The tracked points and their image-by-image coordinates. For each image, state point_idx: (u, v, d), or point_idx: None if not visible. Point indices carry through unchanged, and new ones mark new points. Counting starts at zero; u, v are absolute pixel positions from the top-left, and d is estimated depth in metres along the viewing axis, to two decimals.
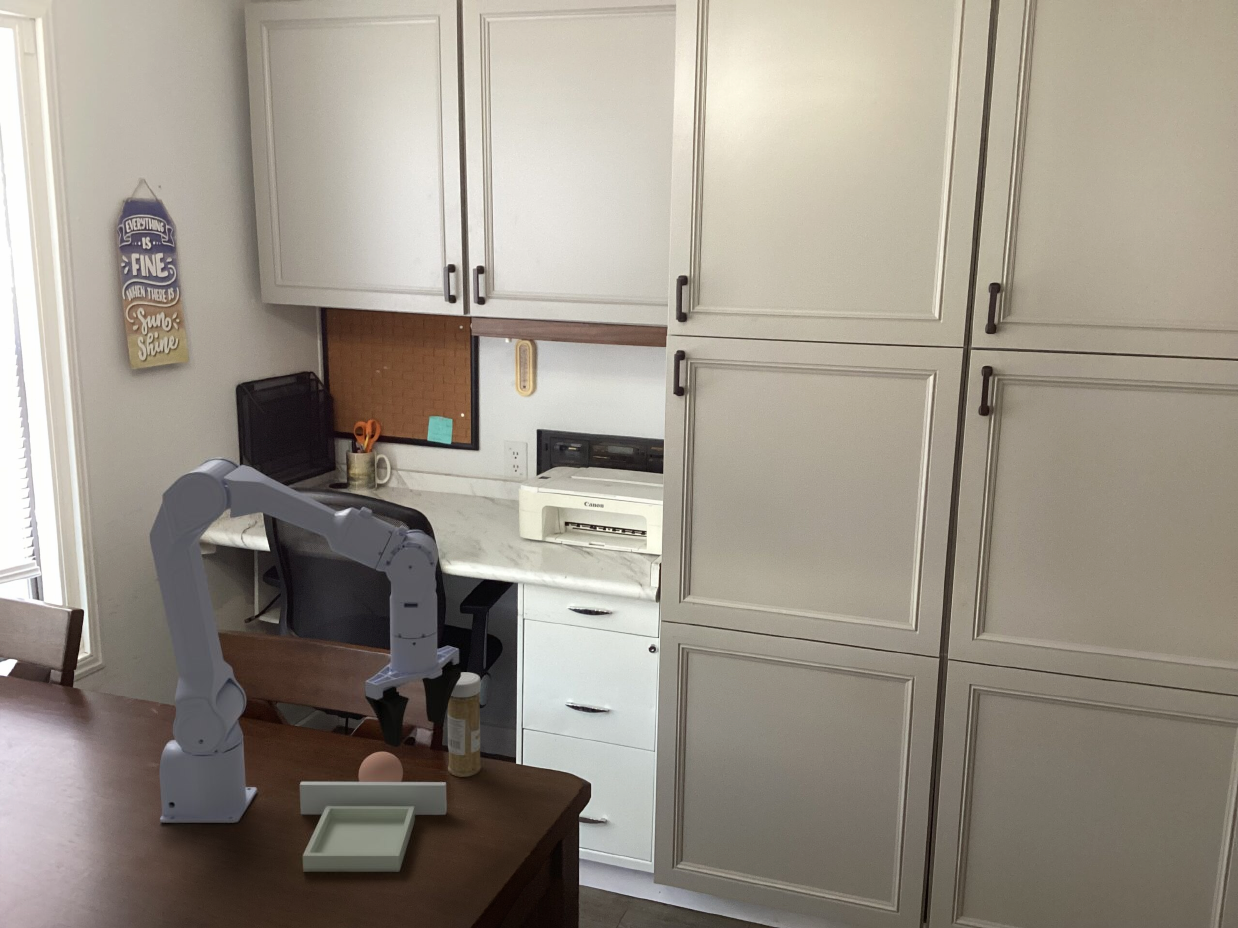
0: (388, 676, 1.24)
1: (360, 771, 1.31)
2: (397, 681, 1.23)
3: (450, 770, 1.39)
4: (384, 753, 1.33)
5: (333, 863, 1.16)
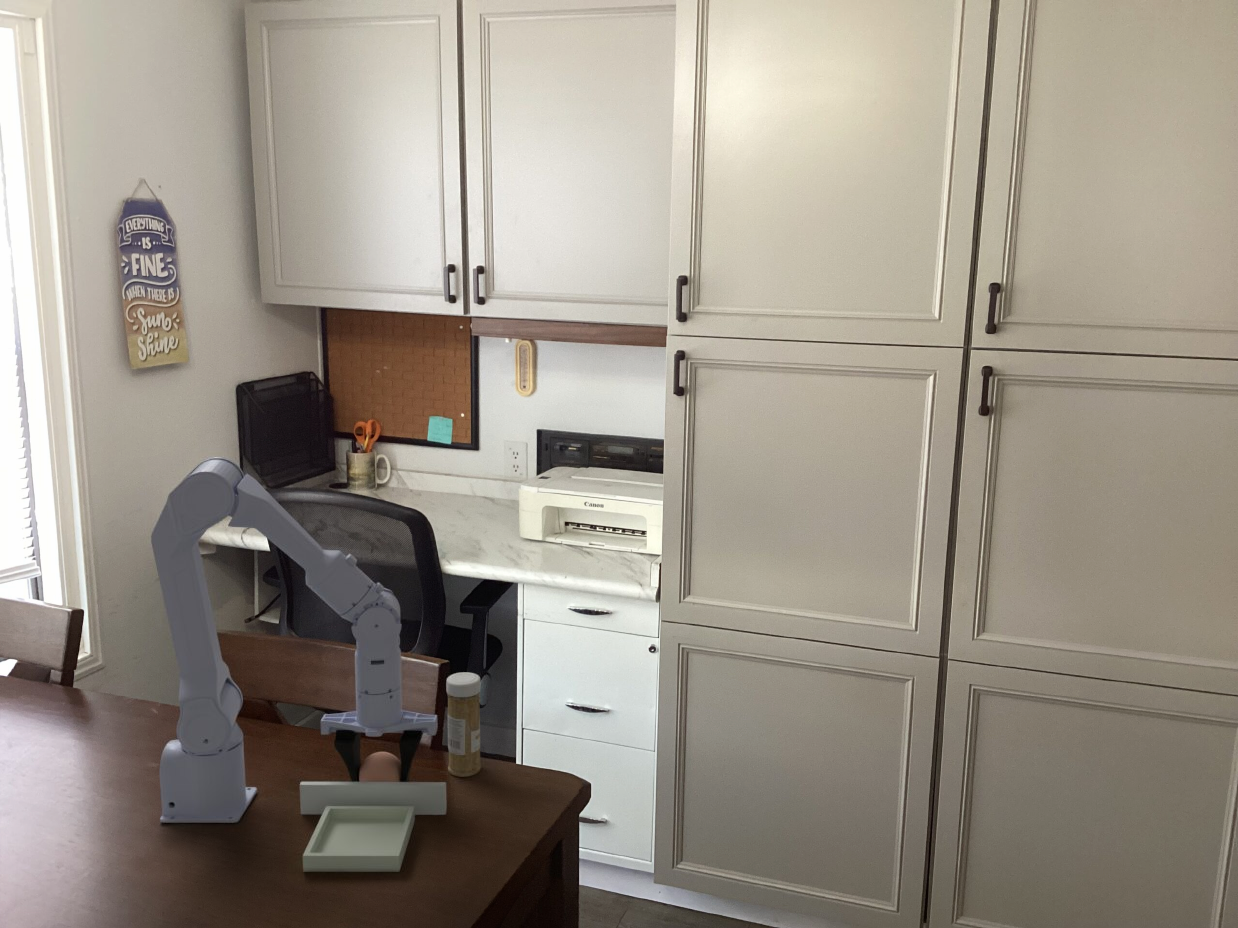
0: (342, 718, 1.31)
1: (360, 771, 1.31)
2: (341, 725, 1.30)
3: (450, 770, 1.39)
4: (384, 753, 1.33)
5: (333, 863, 1.16)
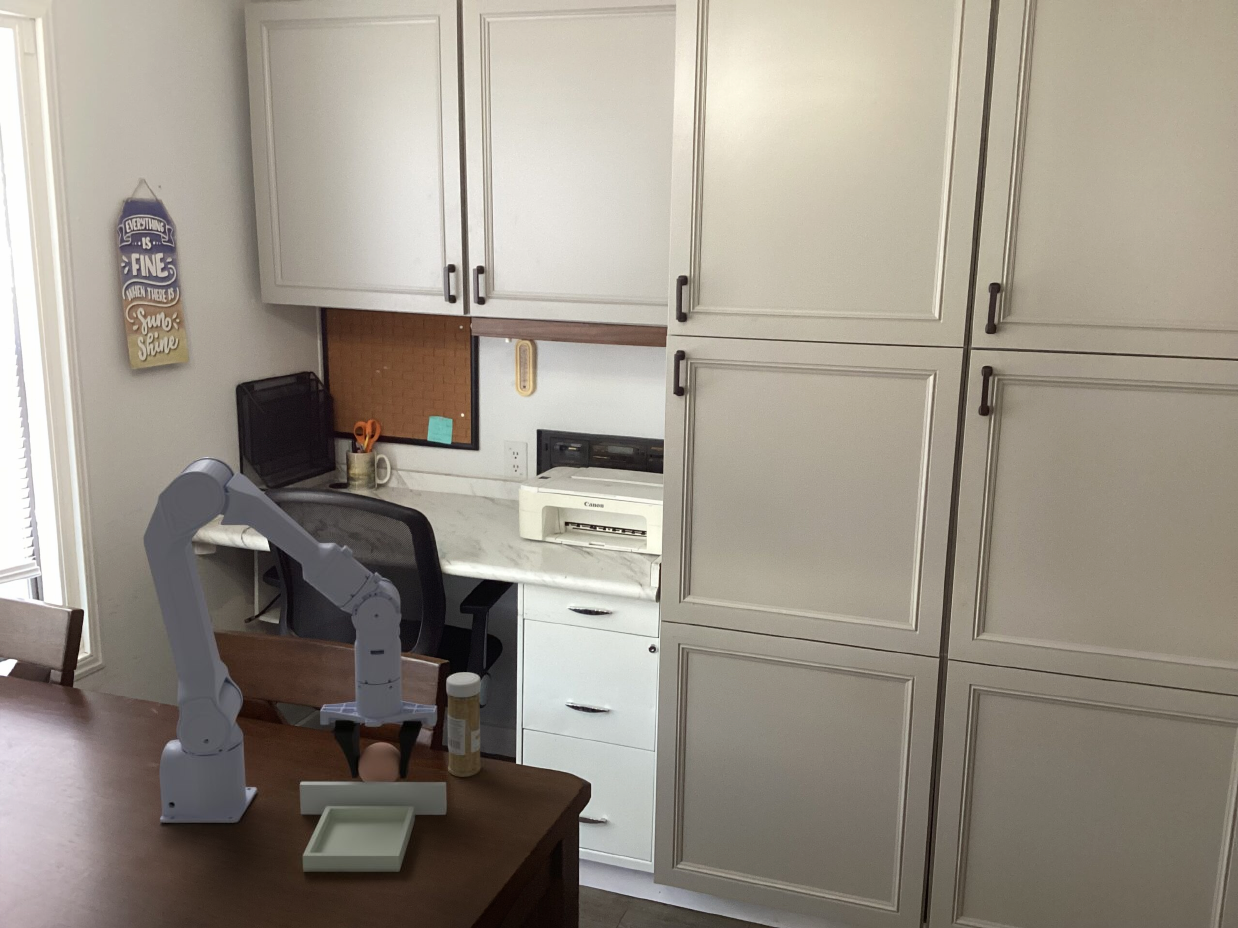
0: (342, 708, 1.31)
1: (359, 762, 1.31)
2: (340, 715, 1.29)
3: (450, 770, 1.39)
4: (383, 744, 1.32)
5: (333, 863, 1.16)
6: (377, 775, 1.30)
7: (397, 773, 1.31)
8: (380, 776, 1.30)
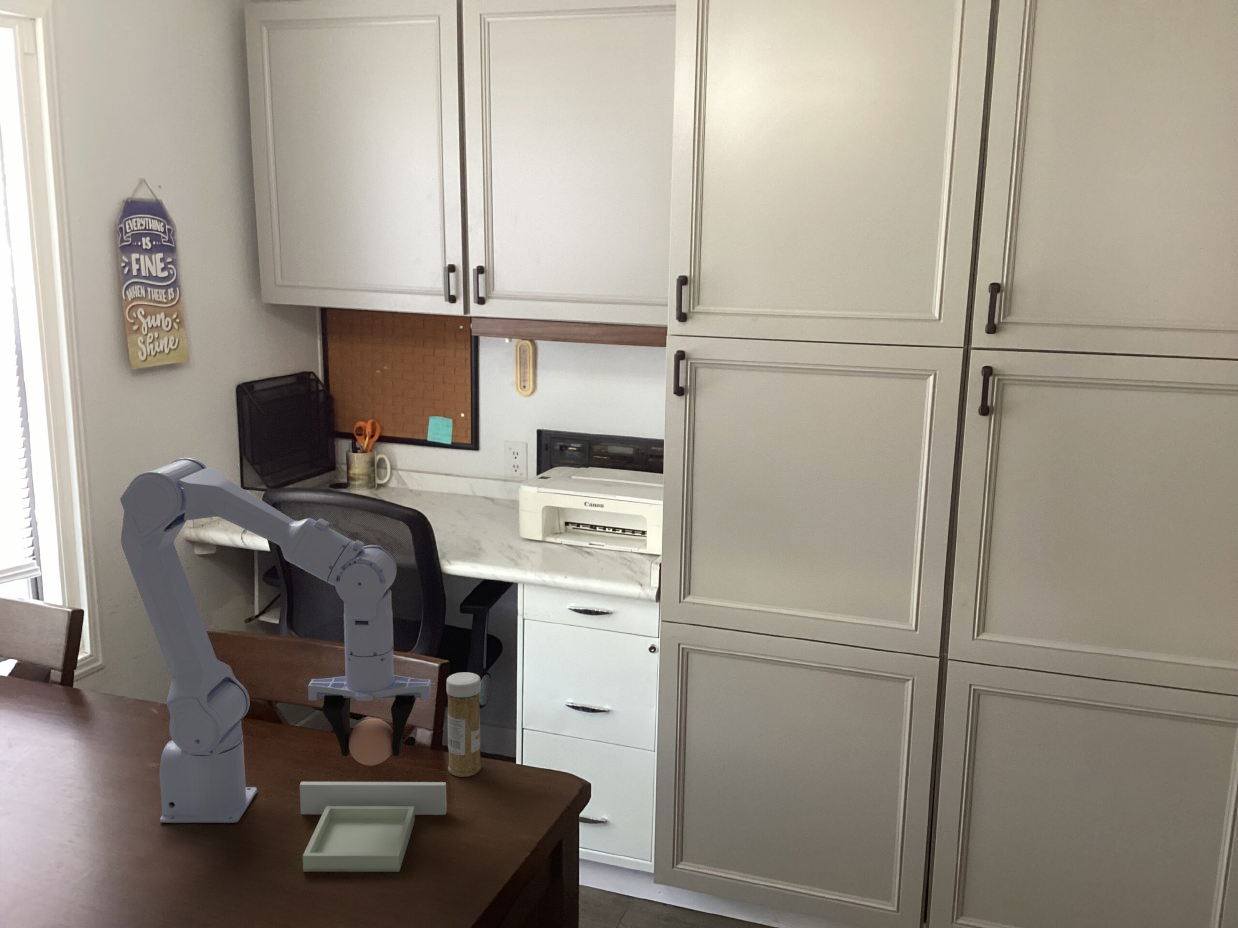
0: (331, 683, 1.24)
1: (350, 738, 1.25)
2: (329, 690, 1.23)
3: (450, 770, 1.39)
4: (375, 720, 1.26)
5: (333, 863, 1.16)
6: (369, 752, 1.24)
7: (389, 750, 1.25)
8: (372, 753, 1.24)
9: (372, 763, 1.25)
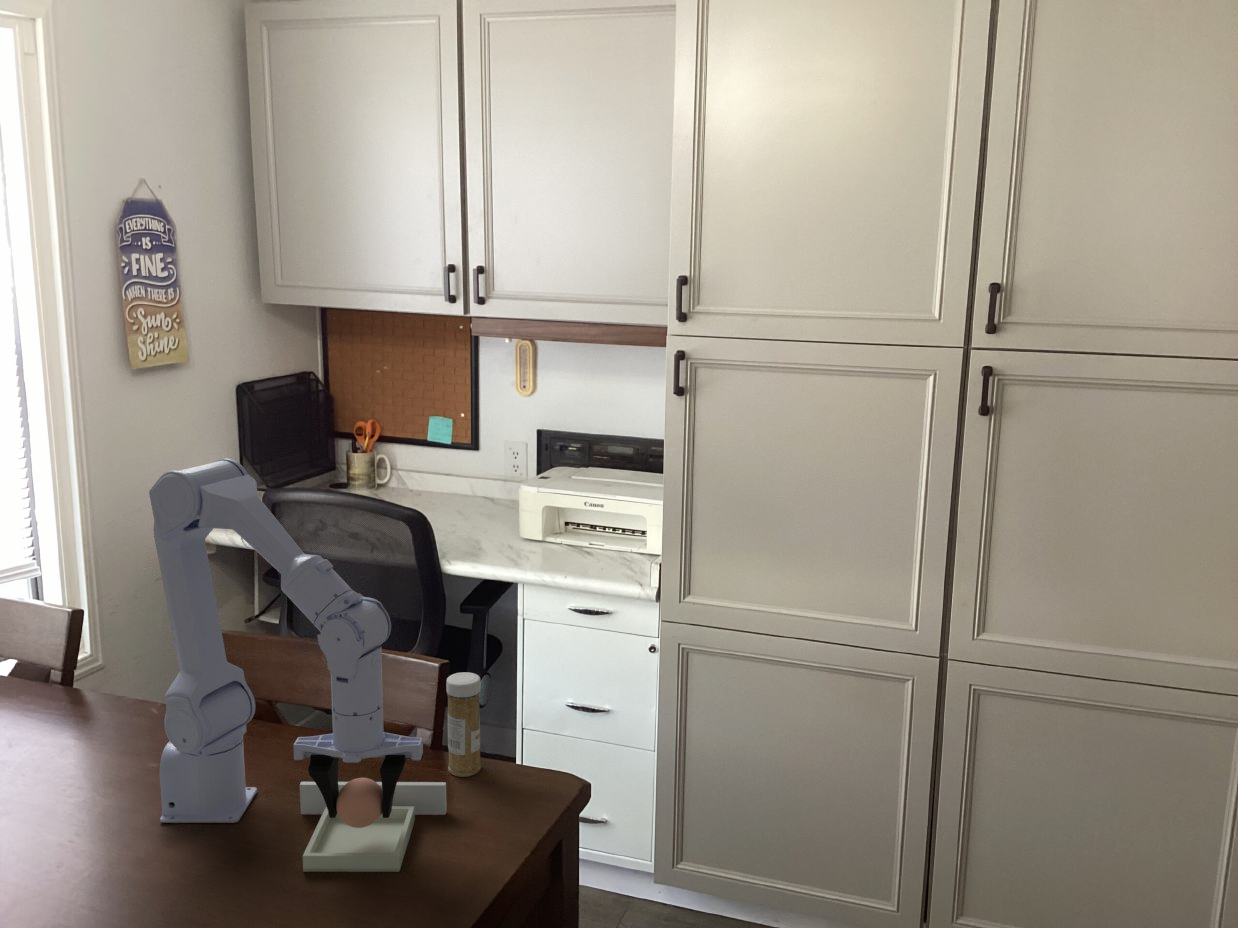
0: (318, 741, 1.19)
1: (337, 800, 1.19)
2: (316, 750, 1.17)
3: (450, 770, 1.39)
4: (364, 780, 1.20)
5: (333, 863, 1.16)
6: (357, 815, 1.18)
7: (379, 812, 1.19)
8: (360, 815, 1.18)
9: (360, 826, 1.19)
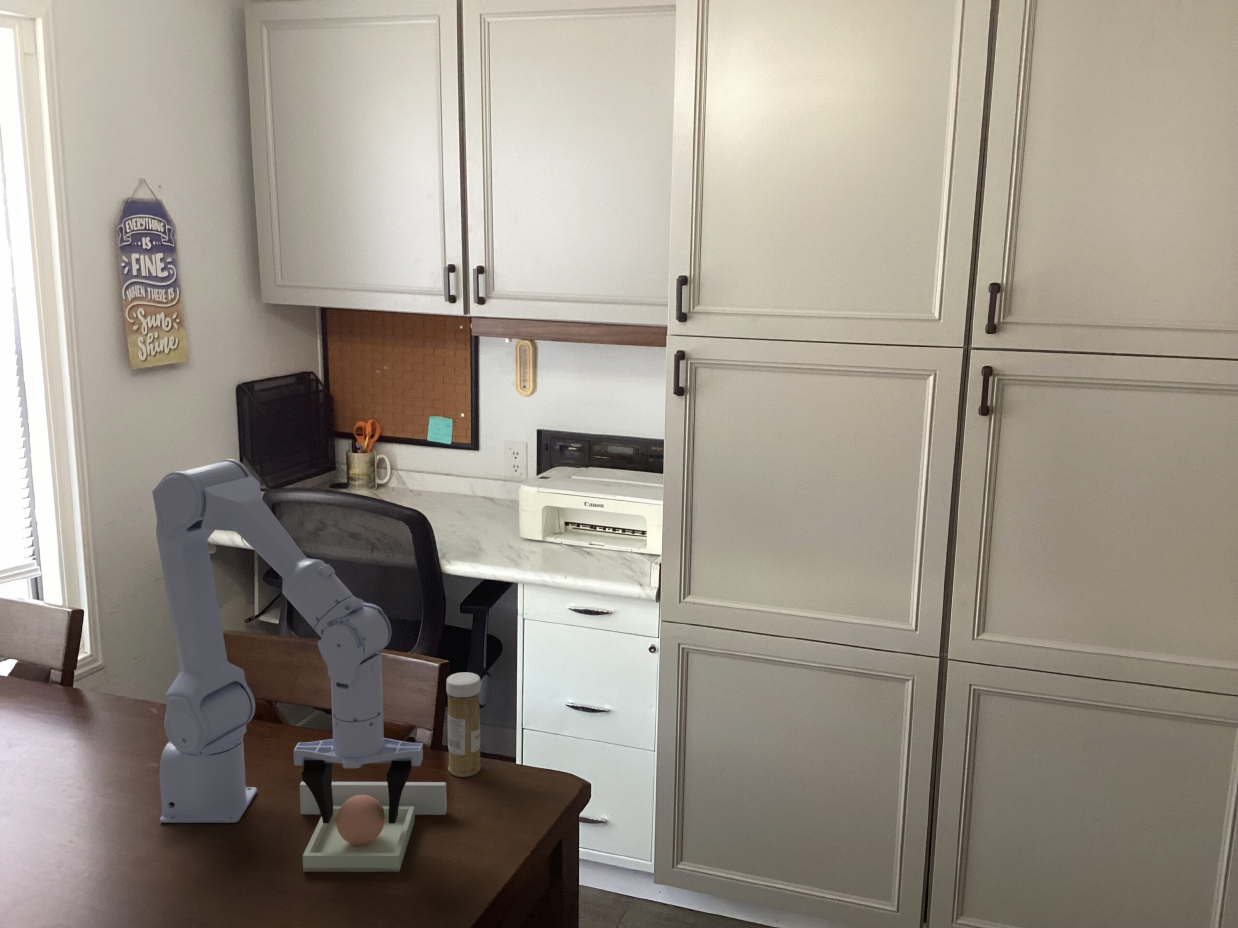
0: (318, 747, 1.19)
1: (338, 817, 1.20)
2: (316, 755, 1.17)
3: (450, 770, 1.39)
4: (364, 797, 1.21)
5: (333, 863, 1.16)
6: (357, 832, 1.18)
7: (379, 829, 1.20)
8: (360, 833, 1.18)
9: (361, 843, 1.19)
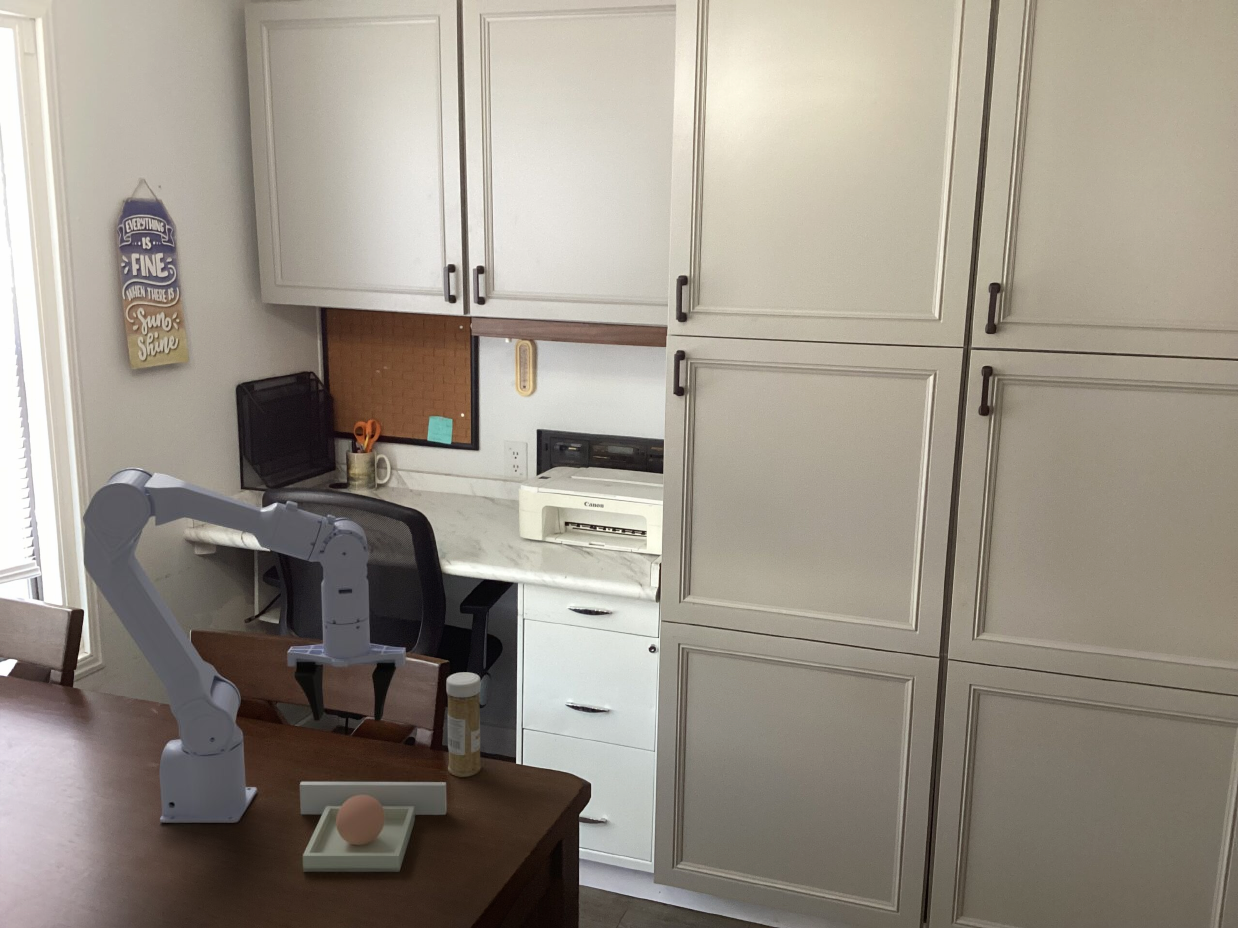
0: (309, 650, 1.29)
1: (337, 817, 1.20)
2: (307, 656, 1.28)
3: (450, 770, 1.39)
4: (364, 797, 1.21)
5: (333, 863, 1.16)
6: (357, 832, 1.18)
7: (379, 829, 1.20)
8: (360, 833, 1.18)
9: (361, 843, 1.19)
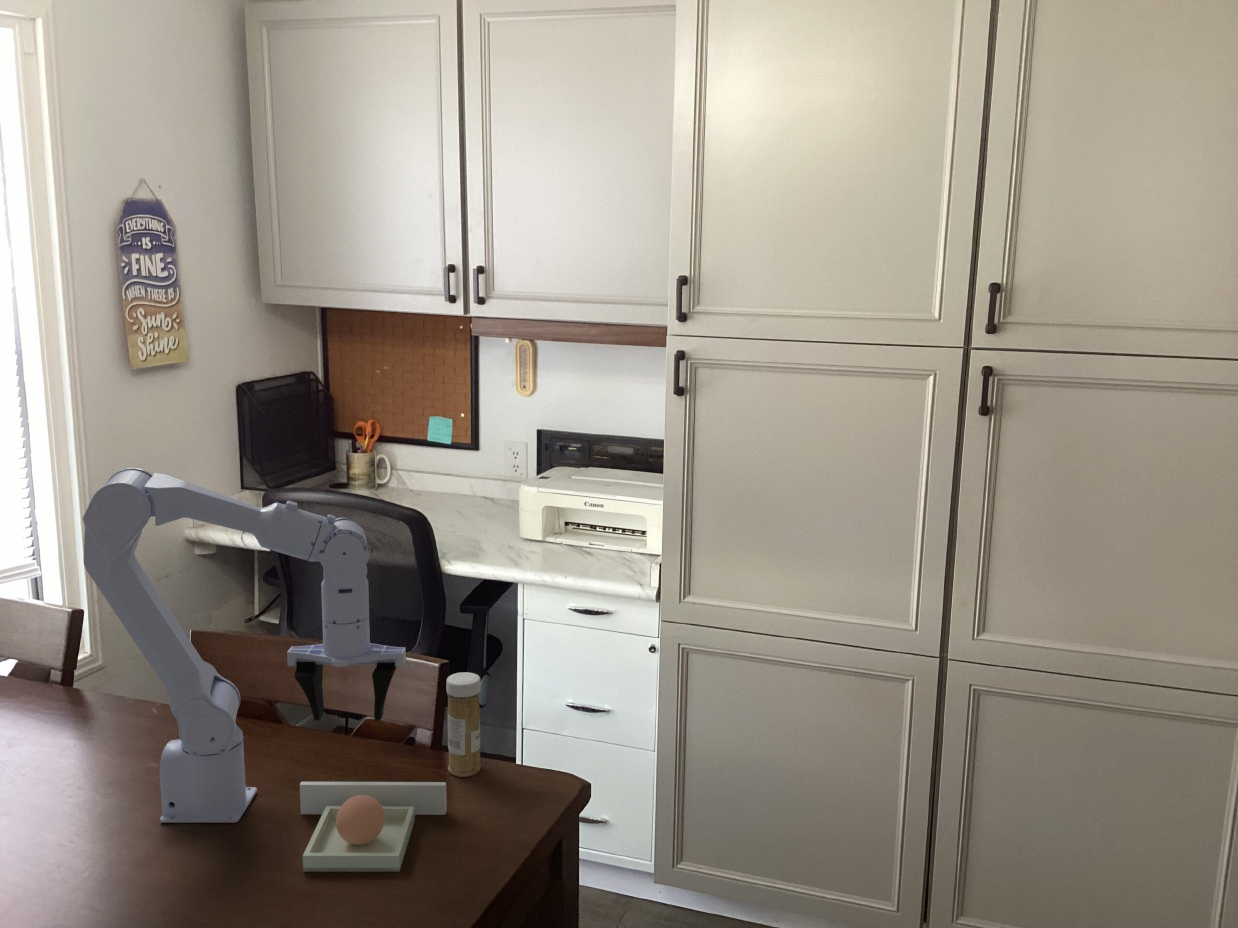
0: (309, 650, 1.29)
1: (337, 817, 1.20)
2: (307, 656, 1.28)
3: (450, 770, 1.39)
4: (363, 797, 1.21)
5: (333, 863, 1.16)
6: (357, 832, 1.18)
7: (379, 829, 1.20)
8: (360, 833, 1.18)
9: (361, 843, 1.19)
